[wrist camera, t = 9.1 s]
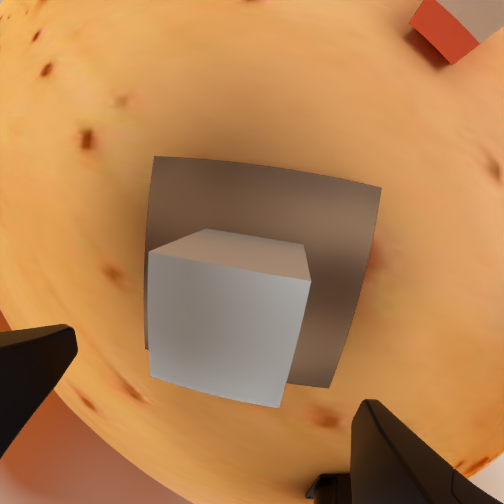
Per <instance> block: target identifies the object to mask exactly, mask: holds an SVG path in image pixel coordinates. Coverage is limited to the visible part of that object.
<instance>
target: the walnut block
mask: <svg viewBox="0 0 504 504" xmlns="http://www.w3.org/2000/svg"><path fill="white" fill-rule="evenodd" d="M380 195H381V188H380V187H376V186H372V185H367V184H363V183H358V182H354V181H349V180H344V179H339V178H334V177H329V176H324V175H319V174H313V173H307V172H302V171H295V170H289V169H283V168H276V167H269V166H262V165H254V164H246V163H237V162H228V161H218V160H207V159H194V158H180V157H161V156H154V162H153V169H152V177H151V185H150V194H149V204H148V214H147V227H146V242H145V264H144V332H145V349H147V350H149V346H148V311H147V291H148V255H149V251H151V250H154V249H156V248H159V247H161V246H163V245H166V244H168V243H171V242H173V241H176V240H178V239H181V238H183V237H186V236H188V235H191V234H193V233H196V232H198V231H201V230H204V229H212V230H219V231H225V232H231V233H237V234H244V235H250V236H256V237H262V238H268V239H274V240H280V241H286V242H292V243H298V244H304V249H305V254H306V258H307V263H308V268H309V273H310V278H311V284H310V289H309V294H308V298H307V303H306V307H305V311H304V316H303V320H302V324H301V328H300V332H299V337H298V341H297V344H296V348H295V352H294V356H293V360H292V364H291V367H290V371H289V375H288V378H287V382H286V383H290V384H297V385H304V386H312V387H321V388H329V387H330V384H331V381H332V379H333V376H334V373H335V371H336V368H337V365H338V362H339V360H340V357H341V354H342V351H343V348H344V345H345V342H346V339H347V336H348V333H349V329H350V326H351V323H352V320H353V316H354V313H355V309H356V306H357V302H358V299H359V295H360V291H361V287H362V284H363V280H364V276H365V271H366V267H367V263H368V259H369V254H370V250H371V245H372V240H373V235H374V230H375V225H376V219H377V213H378V207H379V201H380Z"/></svg>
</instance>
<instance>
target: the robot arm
mask: <svg viewBox="0 0 504 504" xmlns="http://www.w3.org/2000/svg"><path fill="white" fill-rule="evenodd" d="M77 352H78V346H77V341H76V335H75V331H74V329H73V328H72V327H70V326H68V325H66V324H59V325H52V326H45V327H38V328H30V329H22V330H15V331H7V332H0V459H1V457H2V456H3V454H4V453H5V452H6V450H7V448H8V447H9V446H10V445H11V443H12V442H13V440H14V439H15V438H16V436H17V435H18V434H19V432H20V431H21V429H22V428H23V427H24V425H25V424H26V423H27V421H28V420H29V419H30V418H31V416H32V415H33V413H34V412H35V411H36V409H38V407H39V406H40V404H41V403H42V402H43V401H44V400H45V398H46V397H47V396H48V395H49V394H50V392H51V391H52V390H53V389H54V387H55V386H56V385H57V383H58V382H59V380H60V379H61V377H62V376H63V374H64V373H65V371H66V370H67V368H68V367H69V365H70V364H71V362H72V361H73V359H74V358H75V357H76V355H77ZM350 471H351V475H320V476H319V477H318V479H317V480H316V481H315V483H314V484H313V486H312V487H311V488H310V490H309V491H308V492H307V494H306V495H305V498H307V499H314V504H503V503H501V502H500V501H498V500H497V499H495V498H493V497H492V496H490V495H488V494H487V493H486V492H484V491H483V490H481V489H480V488H478V487H477V486H475V485H474V484H473V483H472V482H470V481H469V480H468V479H466V478H465V477H464V476H463V475H462V474H460V473H459V472H458V471H457V470H456V469H453V467H452V466H451V465H450V464H449V463H448V462H446V461H445V460H444V459H443V458H442V457H441V456H440V455H438V454H437V453H436V452H435V451H434V450H433V449H432V448H430V447H429V446H428V445H427V444H426V443H425V442H424V441H423V440H421V439H420V438H419V437H418V436H417V435H416V434H415V433H414V432H412V431H411V430H410V429H409V428H408V427H407V426H406V425H405V424H404V423H403V422H401V421H400V420H399V419H398V418H397V417H396V416H395V415H394V414H393V413H392V412H390V411H389V410H388V409H387V408H386V407H385V406H384V405H383V404H382V403H381V402H380V401H378V400H375V399H365V400H363V401H362V403H361V404H360V406H359V408H358V410H357V412H356V414H355V416H354V418H353V420H352V425H351V462H350Z"/></svg>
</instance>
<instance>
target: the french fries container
mask: <svg viewBox="0 0 504 504" xmlns="http://www.w3.org/2000/svg"><path fill="white" fill-rule="evenodd" d="M409 24H411V25H412V26H413V27H414V28H415V29H416V30H417V31H418V32H420V33H421V34H422V35H423V36H424V37H425V38H426V39H427V40H428V41H429V42H430V43H431V44H432V45H433V46H434V47H435V48H436V49H437V50H438V51H439V52H440V53H441V54H442V55H443V56H444V57H445V58H446V59H447V60H448V61H449V62H450V64H451V65H453V64H455V63H456V62H457V61H458V60H460V59H461V58H462V57H464V56H465V55H466V54H467V53H469V52H470V51H471V50H473V49H474V48H475V47H477V46H478V45H479V44H480V43H482V42H483V41H484V40H486V39H487V38H488V37H490V36H491V35H492V34H494V33H495V32H496V31H498V30H499V29H500V28H502V27H503V26H504V0H424V1H423V3H422V4H421V6H420V7H419V9H418V10H417V12H416V13H415V15H414V16H413V18H412V19H411V21H410V22H409Z"/></svg>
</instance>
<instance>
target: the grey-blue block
mask: <svg viewBox="0 0 504 504" xmlns="http://www.w3.org/2000/svg"><path fill="white" fill-rule="evenodd" d="M310 284H311V278H310V273H309V268H308V263H307V258H306V254H305V249H304V244H298V243H292V242H286V241H280V240H274V239H268V238H262V237H256V236H250V235H244V234H237V233H231V232H225V231H219V230H212V229H204V230H201V231H198V232H196V233H193V234H191V235H188V236H186V237H183V238H181V239H178V240H176V241H173V242H171V243H168V244H166V245H163V246H161V247H159V248H156V249H154V250H151V251H149V255H148V291H147V311H148V346H149V364H150V377H153V378H156V379H159V380H162V381H165V382H168V383H171V384H175V385H178V386H181V387H185V388H188V389H192V390H195V391H199V392H203V393H206V394H210V395H214V396H218V397H223V398H227V399H232V400H236V401H241V402H246V403H251V404H256V405H262V406H268V407H274V408H279V406H280V403H281V399H282V396H283V392H284V389H285V385H286V382H287V378H288V375H289V371H290V367H291V364H292V360H293V356H294V352H295V348H296V344H297V341H298V337H299V332H300V328H301V324H302V320H303V316H304V311H305V307H306V303H307V298H308V294H309V289H310Z"/></svg>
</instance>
